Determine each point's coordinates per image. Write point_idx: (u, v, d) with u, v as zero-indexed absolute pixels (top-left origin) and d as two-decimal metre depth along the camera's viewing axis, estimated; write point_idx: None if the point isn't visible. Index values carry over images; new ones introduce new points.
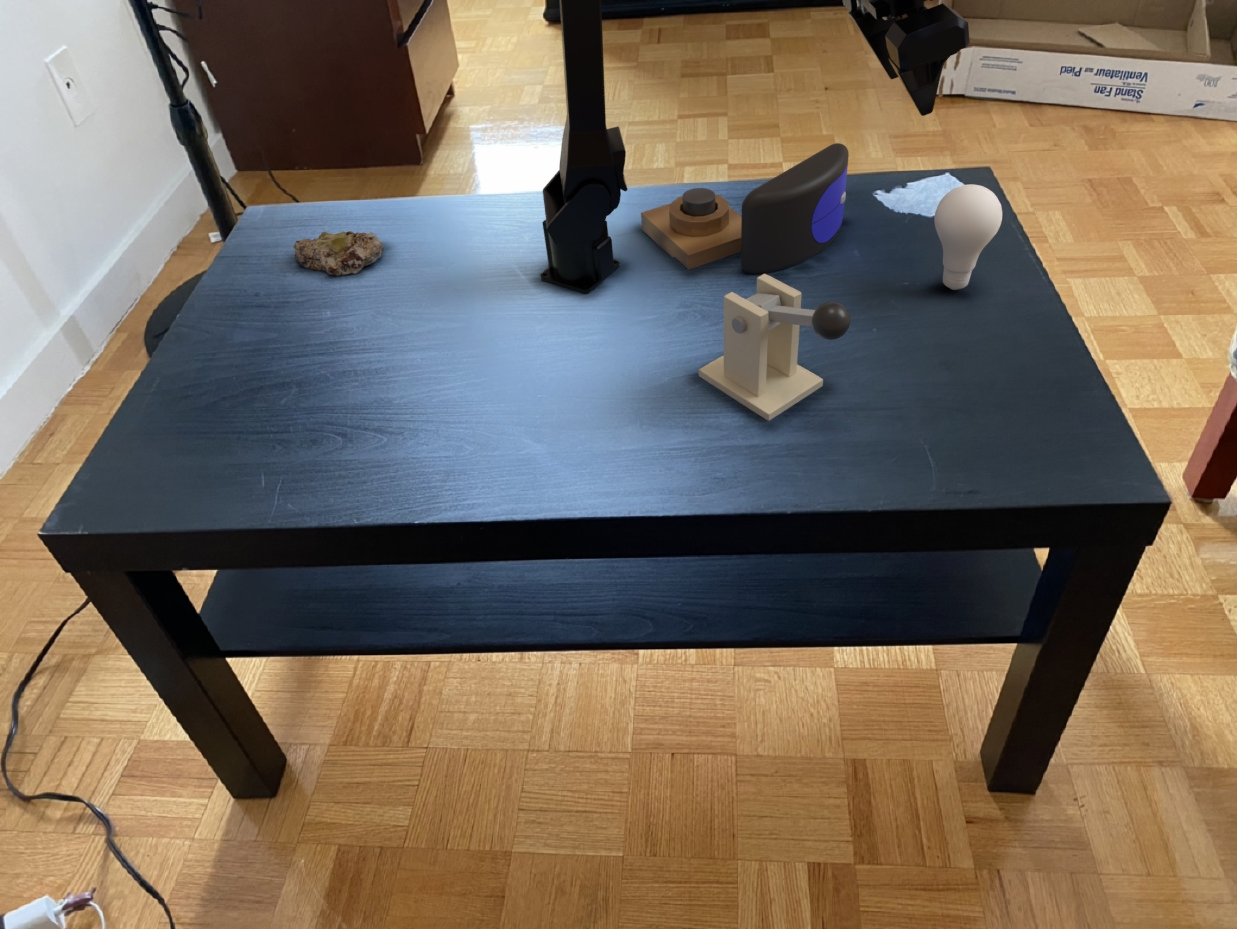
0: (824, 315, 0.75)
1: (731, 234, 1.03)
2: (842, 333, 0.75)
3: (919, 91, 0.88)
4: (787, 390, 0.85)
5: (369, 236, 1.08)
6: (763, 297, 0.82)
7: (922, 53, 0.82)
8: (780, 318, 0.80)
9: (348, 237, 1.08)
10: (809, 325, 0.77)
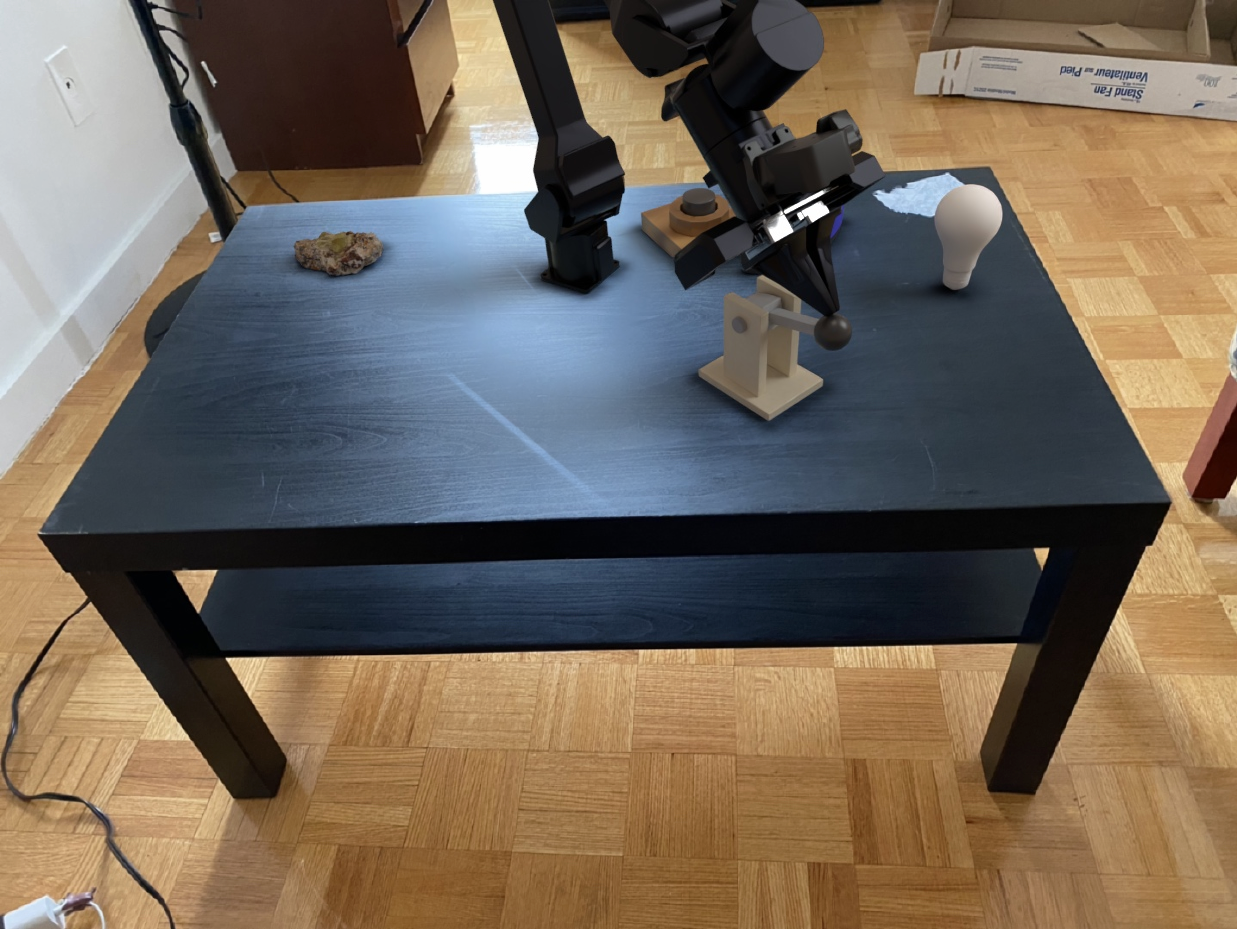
0: (827, 327, 0.75)
1: None
2: (843, 346, 0.76)
3: (798, 289, 0.75)
4: (787, 390, 0.85)
5: (369, 236, 1.08)
6: (764, 297, 0.82)
7: (687, 274, 0.72)
8: (781, 322, 0.80)
9: (348, 237, 1.08)
10: (810, 333, 0.78)
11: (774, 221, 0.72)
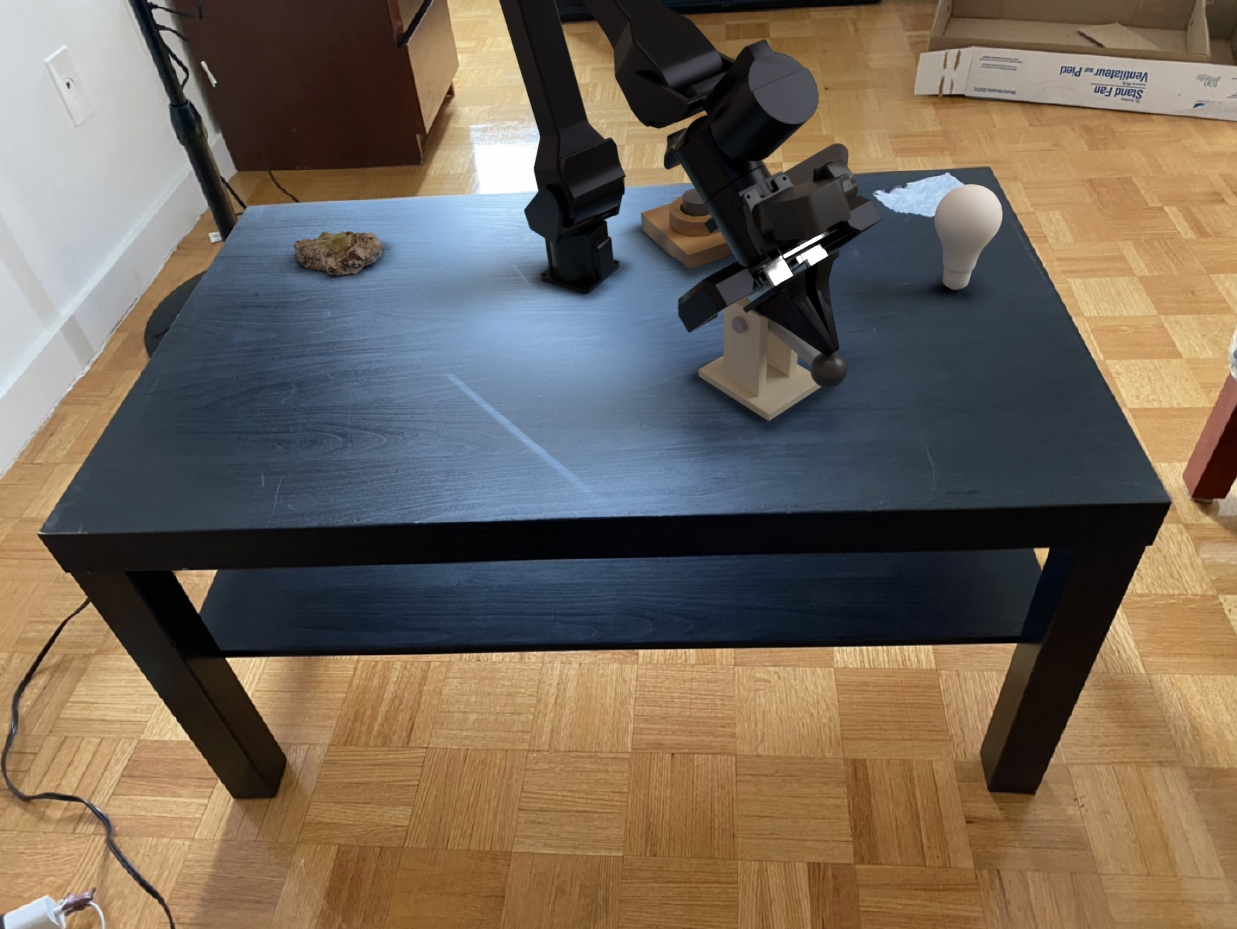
0: (827, 370, 0.78)
1: None
2: (834, 386, 0.79)
3: (798, 330, 0.78)
4: (787, 390, 0.85)
5: (369, 236, 1.08)
6: None
7: (690, 317, 0.74)
8: (779, 335, 0.81)
9: (348, 237, 1.08)
10: (806, 360, 0.80)
11: (774, 265, 0.74)
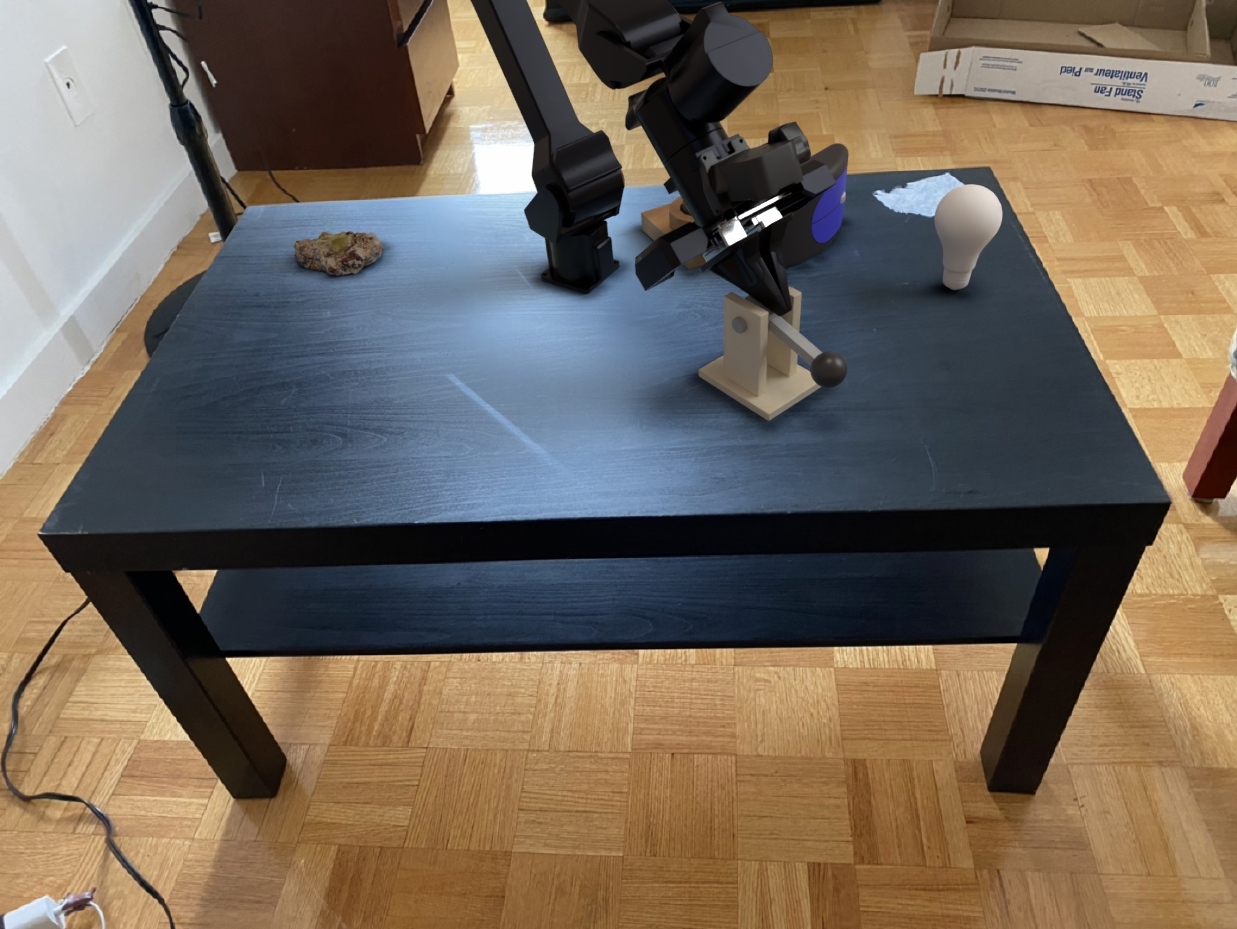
0: (827, 370, 0.78)
1: None
2: (834, 386, 0.79)
3: (752, 290, 0.80)
4: (787, 390, 0.85)
5: (369, 236, 1.08)
6: None
7: (646, 275, 0.76)
8: (779, 335, 0.81)
9: (348, 237, 1.08)
10: (806, 360, 0.80)
11: (729, 226, 0.76)
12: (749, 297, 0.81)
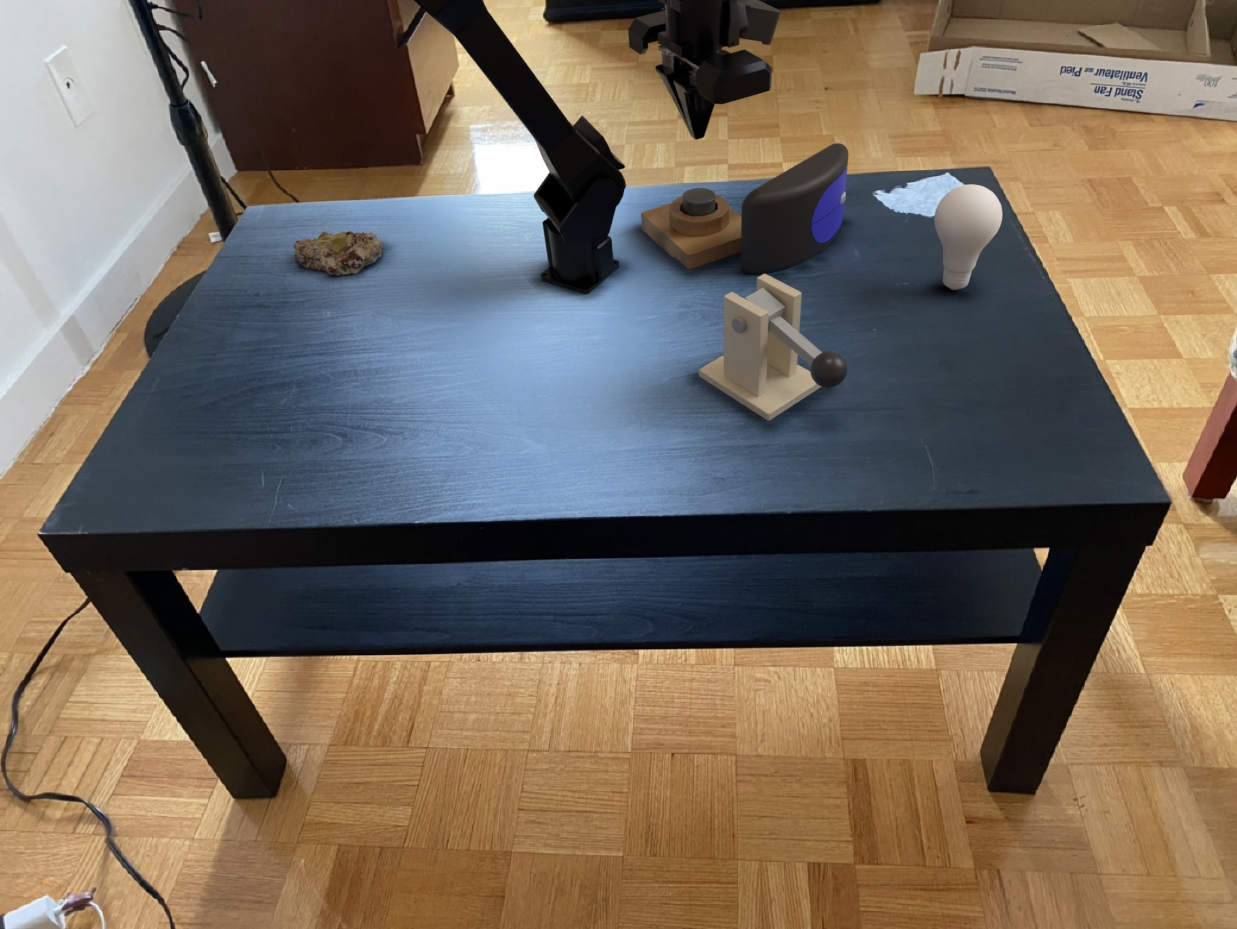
0: (827, 370, 0.78)
1: (731, 234, 1.03)
2: (834, 386, 0.79)
3: (697, 115, 0.96)
4: (787, 390, 0.85)
5: (369, 236, 1.08)
6: (769, 301, 0.81)
7: (735, 91, 0.87)
8: (779, 335, 0.81)
9: (348, 237, 1.08)
10: (806, 360, 0.80)
11: None
12: (749, 297, 0.81)
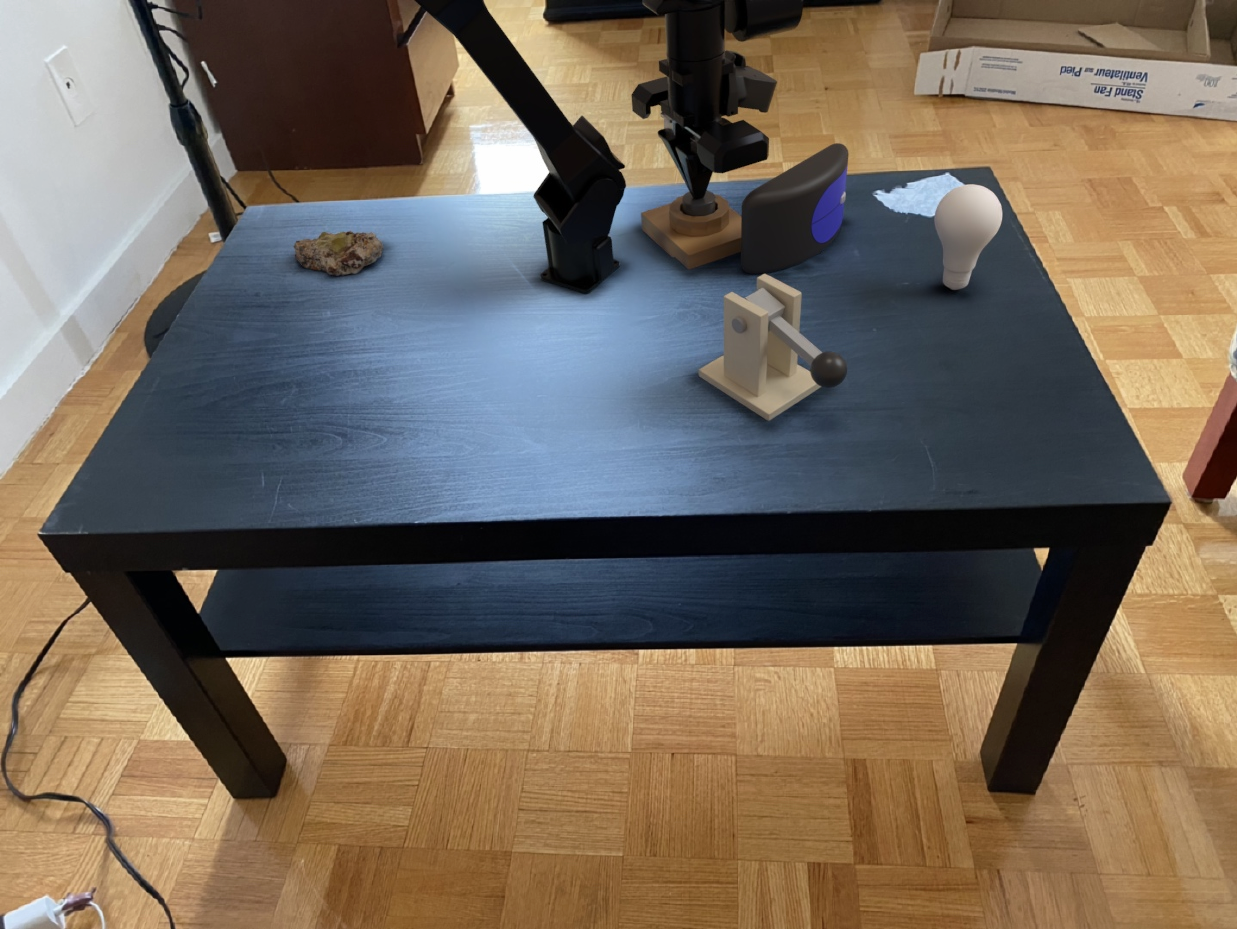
0: (827, 370, 0.78)
1: (731, 234, 1.03)
2: (834, 386, 0.79)
3: (697, 177, 1.01)
4: (787, 390, 0.85)
5: (369, 236, 1.08)
6: (769, 301, 0.81)
7: (734, 161, 0.92)
8: (779, 335, 0.81)
9: (348, 237, 1.08)
10: (806, 360, 0.80)
11: None
12: (749, 297, 0.81)
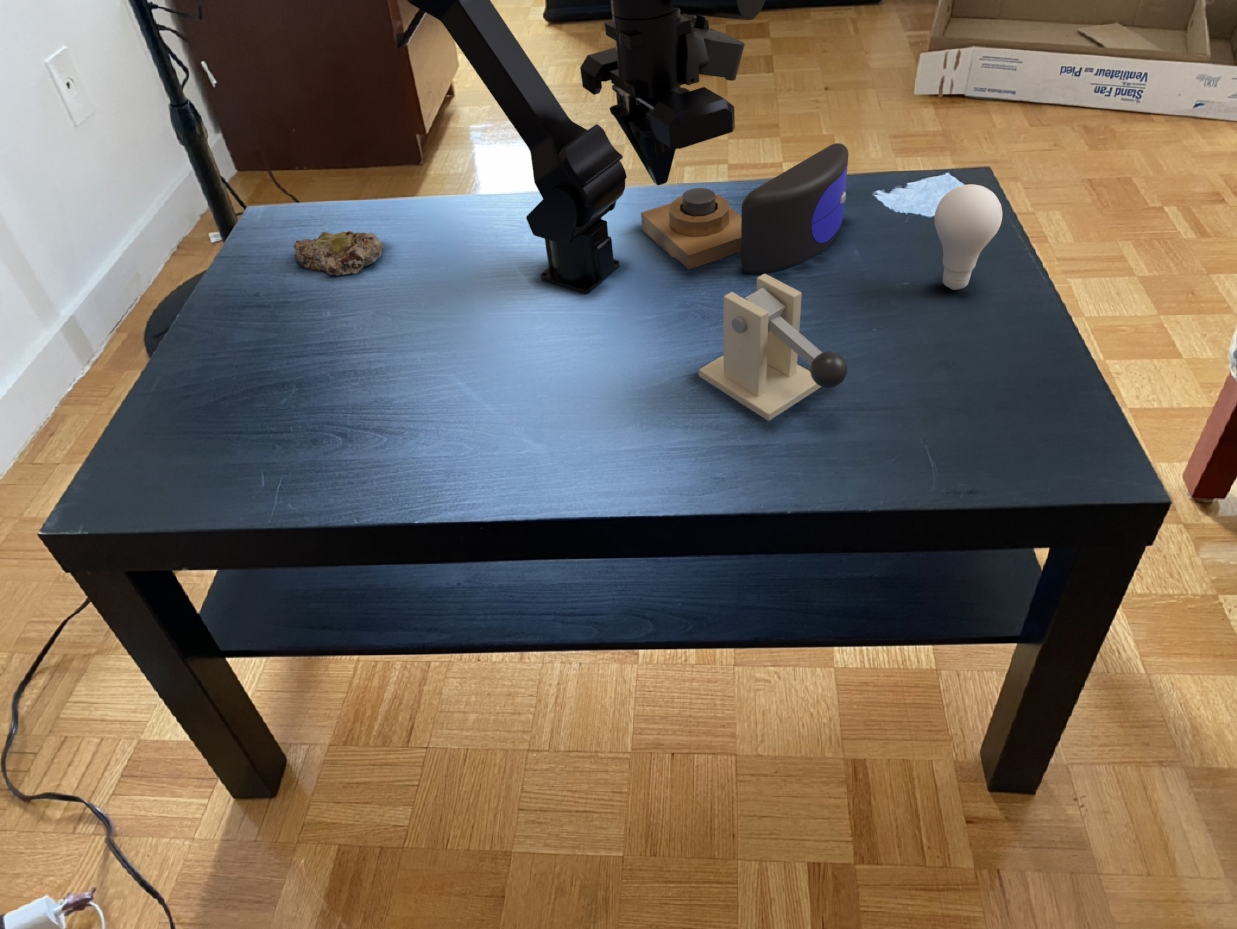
0: (827, 370, 0.78)
1: (731, 234, 1.03)
2: (834, 386, 0.79)
3: (657, 159, 0.87)
4: (787, 390, 0.85)
5: (369, 236, 1.08)
6: (769, 301, 0.81)
7: (693, 133, 0.78)
8: (779, 335, 0.81)
9: (348, 237, 1.08)
10: (806, 360, 0.80)
11: None
12: (749, 297, 0.81)
